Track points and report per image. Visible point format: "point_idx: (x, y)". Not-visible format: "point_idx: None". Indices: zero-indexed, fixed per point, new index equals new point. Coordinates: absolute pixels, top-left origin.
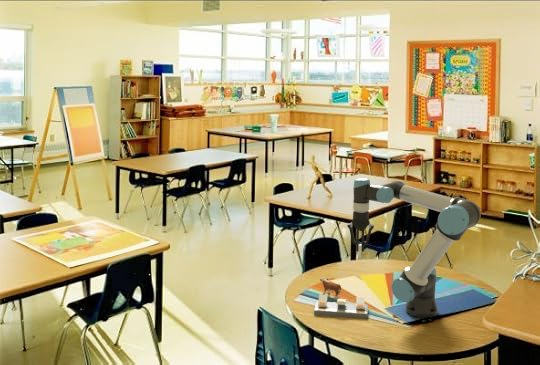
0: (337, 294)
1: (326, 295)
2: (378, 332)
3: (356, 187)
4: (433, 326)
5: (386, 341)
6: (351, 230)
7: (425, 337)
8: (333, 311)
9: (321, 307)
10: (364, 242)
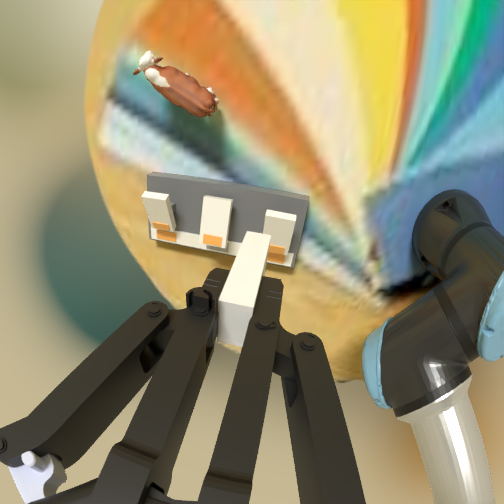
0: (209, 115)
1: (163, 202)
2: (303, 325)
3: None
4: None
5: None
6: (81, 445)
7: None
8: (197, 247)
9: None
10: (272, 370)
